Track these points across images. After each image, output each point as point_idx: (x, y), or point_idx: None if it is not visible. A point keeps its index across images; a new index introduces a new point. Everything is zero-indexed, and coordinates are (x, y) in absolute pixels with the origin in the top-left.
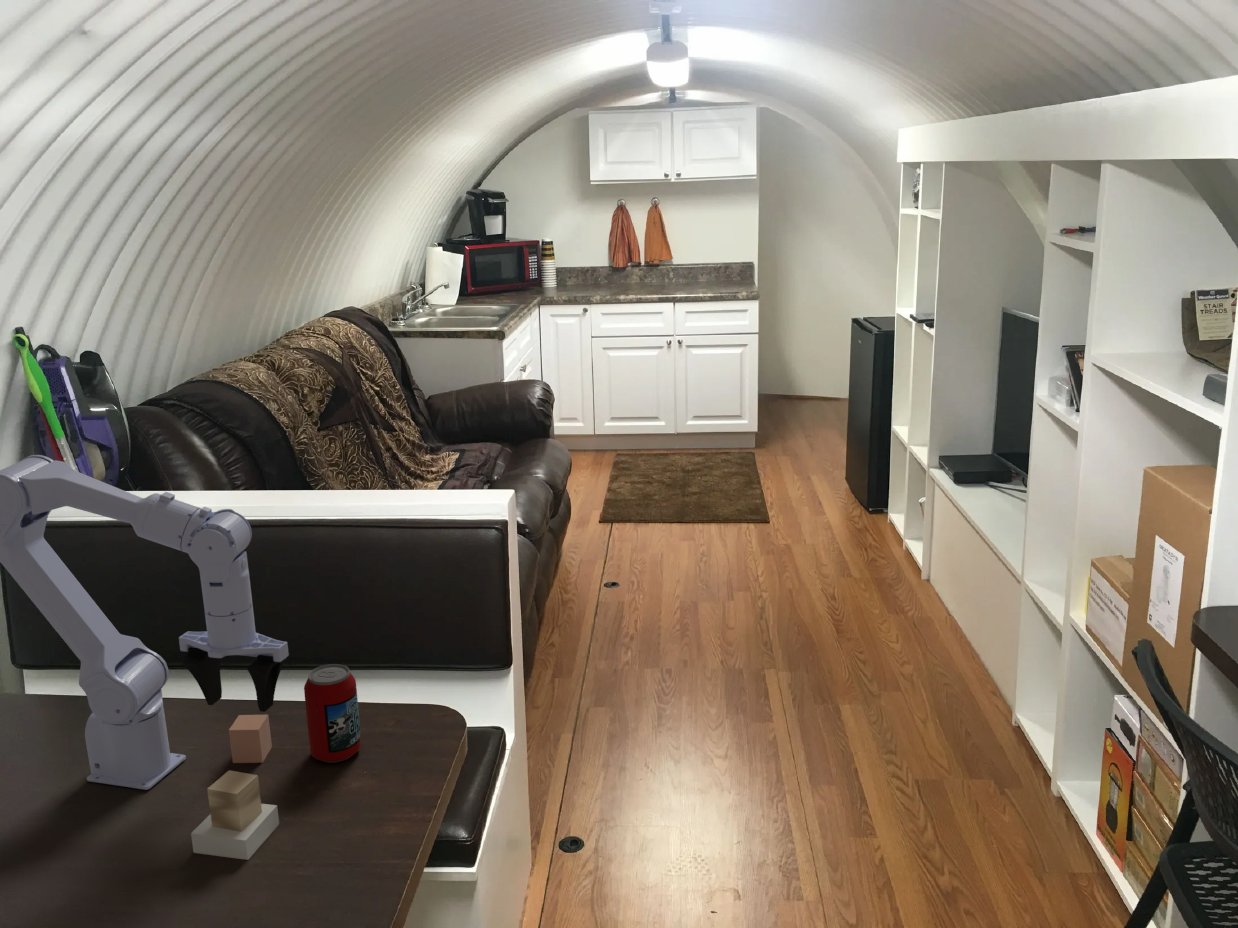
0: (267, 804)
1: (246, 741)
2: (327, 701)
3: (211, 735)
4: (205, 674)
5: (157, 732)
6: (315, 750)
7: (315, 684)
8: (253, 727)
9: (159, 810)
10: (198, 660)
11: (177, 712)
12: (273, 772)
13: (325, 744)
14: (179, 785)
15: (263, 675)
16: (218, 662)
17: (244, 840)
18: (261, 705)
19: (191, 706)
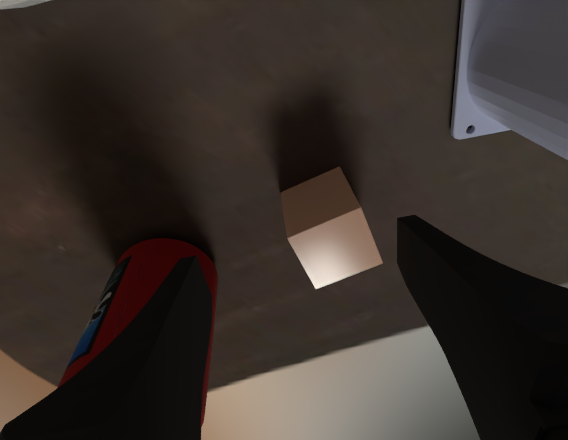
0: (20, 2)
1: (314, 206)
2: (77, 366)
3: (449, 220)
4: (471, 308)
5: (544, 84)
6: (166, 250)
7: None
8: (307, 239)
9: None
10: (557, 376)
11: (563, 249)
12: (228, 174)
13: (131, 265)
14: (398, 40)
15: (26, 413)
16: (466, 390)
17: None
18: (175, 271)
19: (545, 272)
